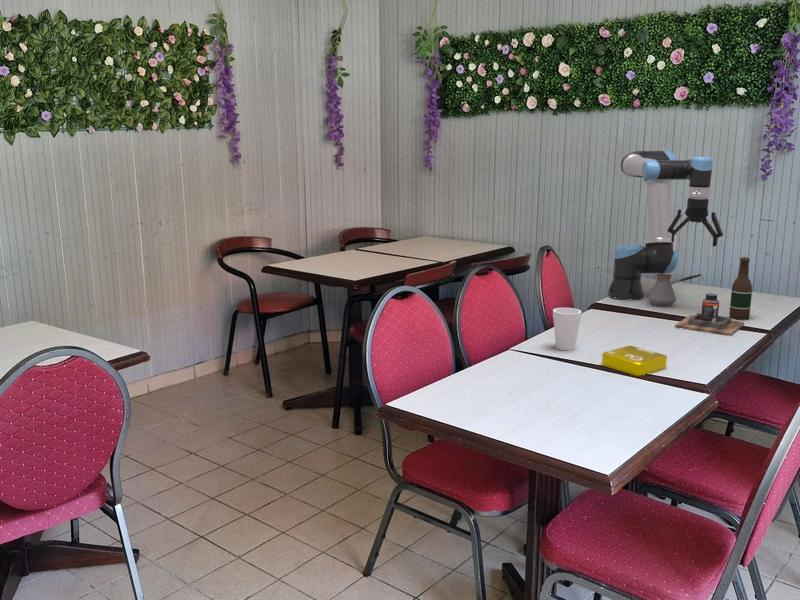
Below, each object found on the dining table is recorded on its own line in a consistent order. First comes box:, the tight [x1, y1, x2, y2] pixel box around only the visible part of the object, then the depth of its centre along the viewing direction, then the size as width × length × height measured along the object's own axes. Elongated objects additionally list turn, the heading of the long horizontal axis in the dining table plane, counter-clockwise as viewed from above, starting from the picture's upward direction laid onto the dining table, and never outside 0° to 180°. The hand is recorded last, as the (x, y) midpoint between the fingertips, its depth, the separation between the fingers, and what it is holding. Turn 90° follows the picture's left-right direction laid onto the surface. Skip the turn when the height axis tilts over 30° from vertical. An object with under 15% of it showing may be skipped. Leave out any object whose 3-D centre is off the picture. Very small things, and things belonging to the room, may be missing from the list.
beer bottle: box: [728, 257, 753, 321], centre depth 293 cm, size 8×8×24 cm
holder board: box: [674, 312, 745, 337], centre depth 283 cm, size 20×20×3 cm
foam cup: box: [552, 307, 582, 351], centre depth 254 cm, size 10×9×13 cm
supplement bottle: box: [701, 293, 720, 323], centre depth 282 cm, size 6×6×11 cm
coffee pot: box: [647, 273, 704, 307], centre depth 314 cm, size 21×12×15 cm, turn 54°
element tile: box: [601, 345, 668, 377], centre depth 236 cm, size 15×15×5 cm
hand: (692, 252), depth 292 cm, fingers open, 13 cm apart
